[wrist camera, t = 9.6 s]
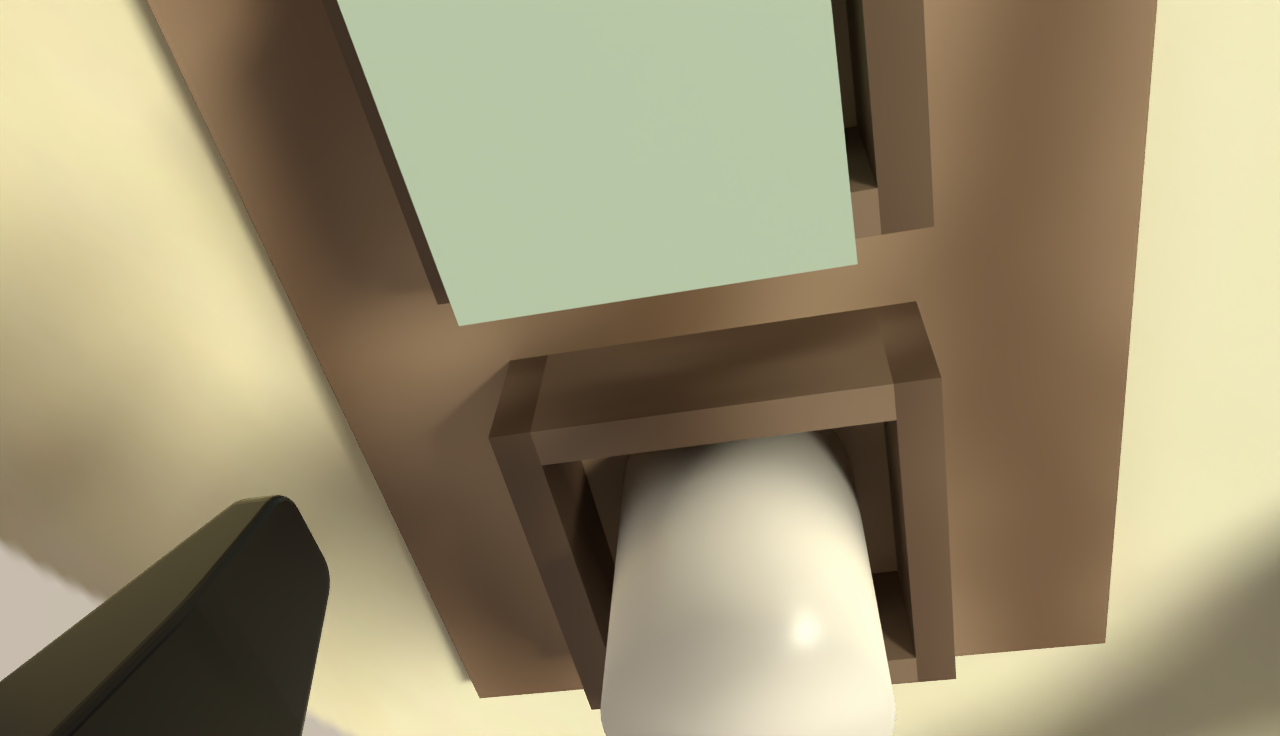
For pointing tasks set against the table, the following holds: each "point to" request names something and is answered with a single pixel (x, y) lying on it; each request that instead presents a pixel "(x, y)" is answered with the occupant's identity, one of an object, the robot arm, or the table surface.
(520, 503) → the socket board
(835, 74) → the sage block
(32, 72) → the table surface
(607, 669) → the cream cylinder
